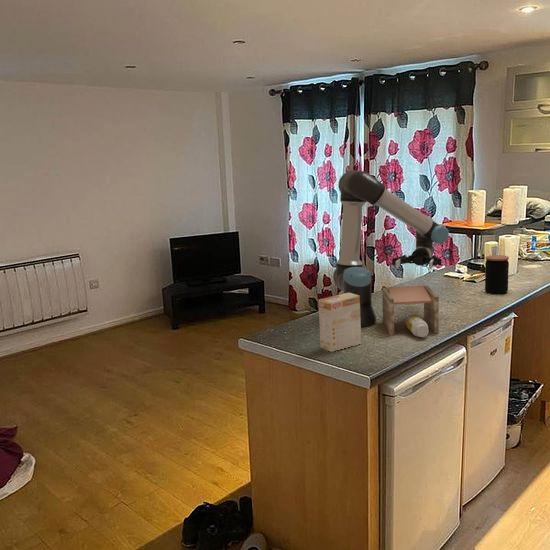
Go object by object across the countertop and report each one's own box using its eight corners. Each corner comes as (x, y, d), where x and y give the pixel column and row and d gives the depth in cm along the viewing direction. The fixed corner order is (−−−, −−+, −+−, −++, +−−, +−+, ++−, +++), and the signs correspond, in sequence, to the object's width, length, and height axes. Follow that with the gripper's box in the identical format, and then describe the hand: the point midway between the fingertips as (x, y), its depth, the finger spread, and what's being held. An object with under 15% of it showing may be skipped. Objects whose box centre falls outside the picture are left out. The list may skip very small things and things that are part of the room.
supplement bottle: (411, 332, 226) (421, 343, 214) (401, 321, 225) (410, 331, 212) (424, 321, 225) (434, 331, 213) (413, 310, 224) (423, 319, 212)
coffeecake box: (350, 340, 218) (348, 292, 214) (362, 344, 212) (360, 295, 208) (319, 348, 210) (317, 299, 206) (331, 353, 204) (329, 302, 200)
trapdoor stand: (390, 335, 220) (389, 299, 217) (382, 321, 239) (382, 287, 236) (438, 333, 219) (438, 296, 216) (427, 319, 238) (427, 285, 235)
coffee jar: (512, 292, 274) (513, 256, 271) (499, 296, 269) (500, 259, 265) (493, 288, 283) (494, 254, 279) (480, 292, 277) (481, 257, 274)
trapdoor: (393, 304, 221) (393, 302, 220) (387, 289, 235) (387, 287, 235) (431, 302, 220) (431, 300, 220) (423, 287, 234) (423, 285, 234)
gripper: (450, 264, 240) (445, 275, 221) (393, 263, 250) (383, 273, 230) (450, 247, 238) (445, 256, 219) (392, 247, 248) (382, 256, 229)
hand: (413, 265), depth 225 cm, fingers open, 13 cm apart
